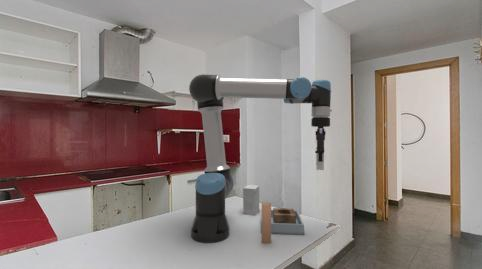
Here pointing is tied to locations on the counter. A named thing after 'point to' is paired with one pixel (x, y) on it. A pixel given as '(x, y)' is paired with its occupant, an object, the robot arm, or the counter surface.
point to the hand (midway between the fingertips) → (319, 167)
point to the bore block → (284, 215)
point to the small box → (251, 199)
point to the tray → (286, 226)
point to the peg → (266, 222)
